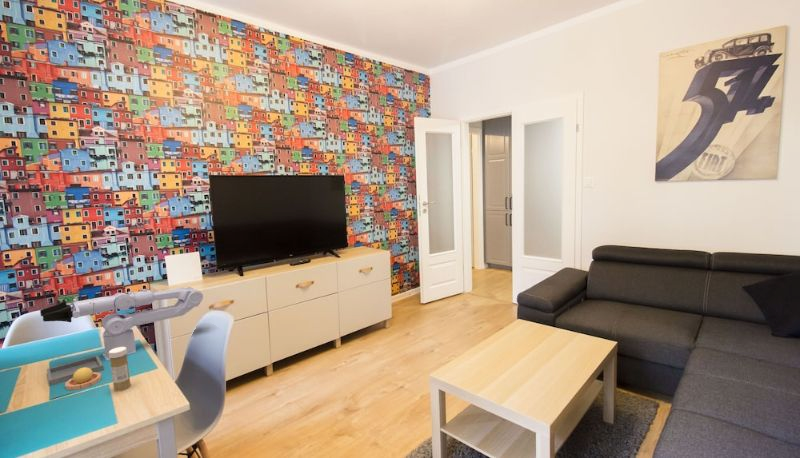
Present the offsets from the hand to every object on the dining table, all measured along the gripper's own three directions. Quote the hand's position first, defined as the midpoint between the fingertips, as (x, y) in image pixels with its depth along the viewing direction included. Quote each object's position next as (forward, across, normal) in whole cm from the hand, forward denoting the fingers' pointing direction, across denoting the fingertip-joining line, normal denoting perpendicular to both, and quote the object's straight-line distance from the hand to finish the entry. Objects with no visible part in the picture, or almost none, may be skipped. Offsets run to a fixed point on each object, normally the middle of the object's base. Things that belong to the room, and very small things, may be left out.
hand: (41, 315), depth 128 cm
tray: (-7, +7, +21) cm, 23 cm away
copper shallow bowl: (-7, +19, +21) cm, 29 cm away
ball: (-7, +19, +20) cm, 29 cm away
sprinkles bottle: (-15, +33, +20) cm, 42 cm away
